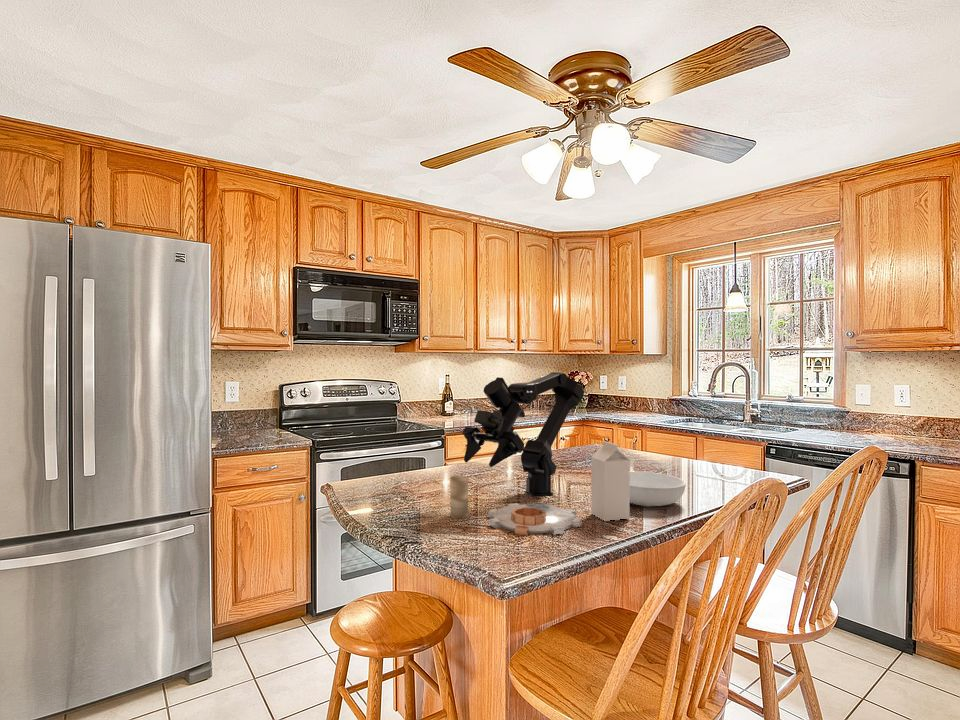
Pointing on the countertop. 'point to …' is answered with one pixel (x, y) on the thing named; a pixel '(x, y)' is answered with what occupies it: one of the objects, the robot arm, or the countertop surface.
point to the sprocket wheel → (534, 518)
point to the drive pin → (459, 497)
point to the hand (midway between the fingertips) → (477, 463)
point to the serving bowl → (655, 488)
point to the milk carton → (610, 483)
